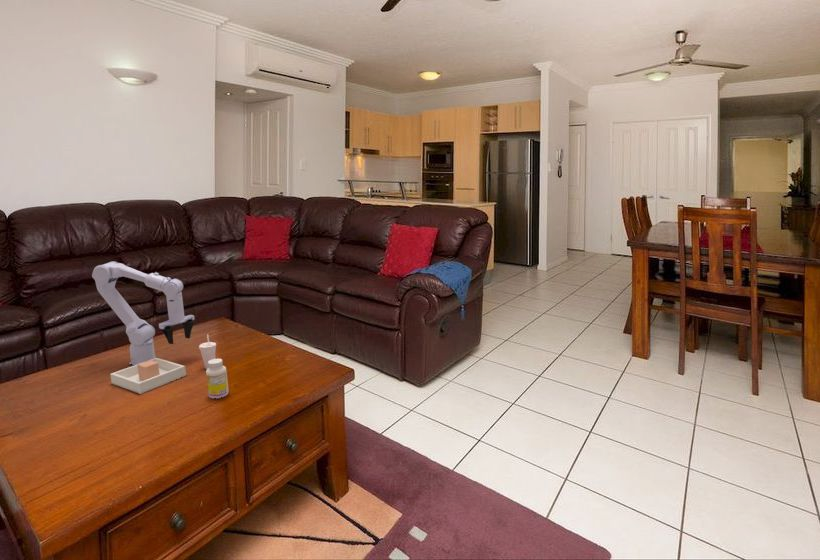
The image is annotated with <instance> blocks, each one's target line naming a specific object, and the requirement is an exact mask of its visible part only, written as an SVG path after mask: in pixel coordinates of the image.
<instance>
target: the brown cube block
mask: <svg viewBox="0 0 820 560" xmlns="http://www.w3.org/2000/svg"><path fill="white" fill-rule="evenodd" d="M137 367H138V374H139V380H142V381H144V380H147V379H150V378H152V377H155V376H157V375H160V374H159V367H158V363H157V362H154V361H151V360H150V361H147V362H144V363H141V364H138V365H137Z"/></svg>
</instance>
